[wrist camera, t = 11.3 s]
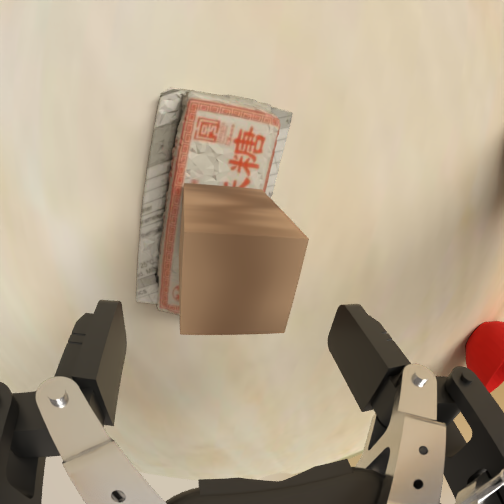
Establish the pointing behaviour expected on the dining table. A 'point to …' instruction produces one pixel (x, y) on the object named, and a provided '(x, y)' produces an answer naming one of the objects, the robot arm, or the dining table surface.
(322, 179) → the dining table surface
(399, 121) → the dining table surface
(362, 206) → the dining table surface
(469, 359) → the ceramic cup
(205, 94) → the packaged product
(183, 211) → the walnut block
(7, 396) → the robot arm
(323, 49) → the dining table surface
